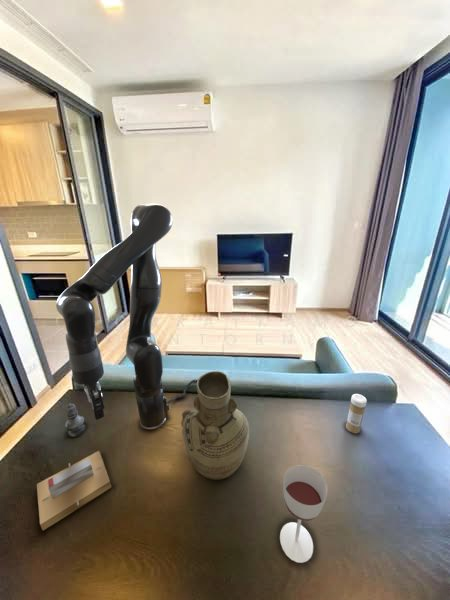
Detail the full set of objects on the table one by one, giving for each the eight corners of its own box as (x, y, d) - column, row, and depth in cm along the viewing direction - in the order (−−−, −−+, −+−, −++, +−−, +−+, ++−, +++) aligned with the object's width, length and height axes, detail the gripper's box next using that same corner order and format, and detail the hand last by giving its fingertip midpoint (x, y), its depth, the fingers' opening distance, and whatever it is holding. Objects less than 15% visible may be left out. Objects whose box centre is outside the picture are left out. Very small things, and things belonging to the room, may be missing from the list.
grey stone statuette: (77, 438, 85) (69, 411, 81) (63, 435, 86) (54, 408, 82) (89, 424, 90) (82, 398, 86) (75, 422, 91) (68, 395, 87)
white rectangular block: (92, 467, 73) (89, 457, 71) (94, 474, 71) (91, 463, 69) (51, 491, 67) (47, 479, 65) (52, 498, 65) (48, 487, 63)
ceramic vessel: (205, 422, 91) (201, 351, 80) (258, 449, 80) (262, 371, 70) (168, 465, 76) (158, 385, 65) (228, 505, 65) (227, 418, 55)
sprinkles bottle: (361, 428, 87) (369, 398, 83) (356, 436, 85) (364, 405, 80) (348, 421, 91) (354, 391, 86) (343, 428, 88) (349, 397, 83)
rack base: (99, 453, 79) (98, 447, 79) (112, 490, 69) (111, 484, 68) (38, 486, 70) (36, 480, 69) (43, 535, 60) (40, 528, 59)
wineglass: (273, 523, 62) (278, 466, 55) (307, 519, 62) (317, 463, 55) (283, 566, 54) (290, 507, 47) (321, 561, 55) (335, 503, 48)
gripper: (108, 369, 66) (116, 417, 71) (95, 347, 76) (103, 390, 82) (75, 381, 61) (87, 431, 67) (67, 355, 72) (77, 401, 77)
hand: (96, 409), depth 74 cm, fingers open, 8 cm apart
